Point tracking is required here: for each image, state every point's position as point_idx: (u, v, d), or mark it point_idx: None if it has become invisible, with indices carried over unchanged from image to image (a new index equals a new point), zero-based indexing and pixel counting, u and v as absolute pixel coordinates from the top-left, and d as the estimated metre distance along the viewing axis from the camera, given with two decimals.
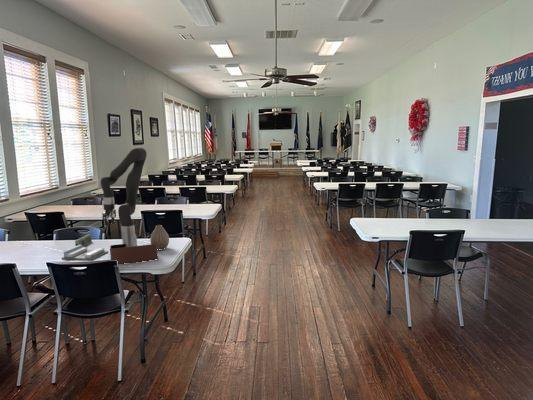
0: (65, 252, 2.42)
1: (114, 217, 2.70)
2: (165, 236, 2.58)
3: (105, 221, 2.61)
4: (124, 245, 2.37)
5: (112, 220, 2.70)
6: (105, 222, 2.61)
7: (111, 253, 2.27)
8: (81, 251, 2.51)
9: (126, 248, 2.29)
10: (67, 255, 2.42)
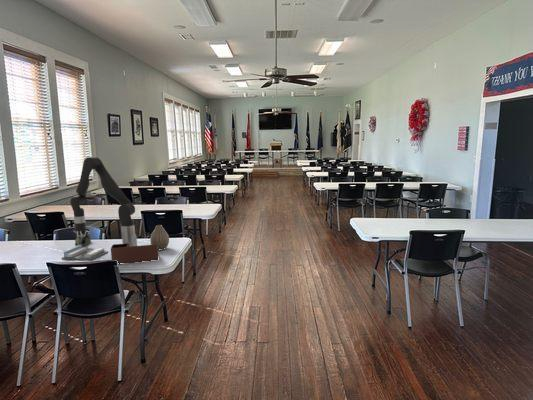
0: (65, 252, 2.42)
1: None
2: (165, 236, 2.58)
3: (84, 239, 2.72)
4: (126, 245, 2.38)
5: None
6: (85, 240, 2.72)
7: (112, 252, 2.28)
8: (81, 251, 2.51)
9: (127, 248, 2.30)
10: (67, 255, 2.42)
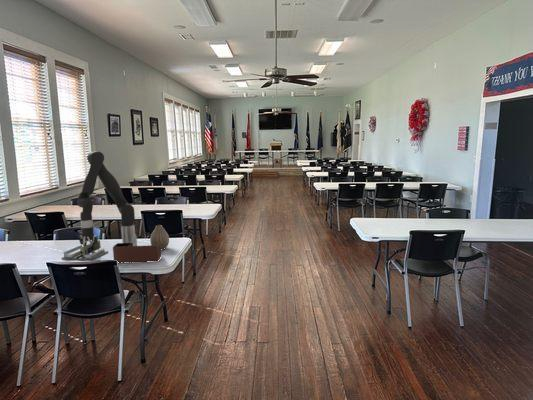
0: (65, 252, 2.42)
1: None
2: (165, 236, 2.58)
3: (93, 245, 2.47)
4: (130, 244, 2.39)
5: None
6: (93, 246, 2.47)
7: (114, 251, 2.30)
8: None
9: (128, 247, 2.31)
10: (67, 255, 2.42)
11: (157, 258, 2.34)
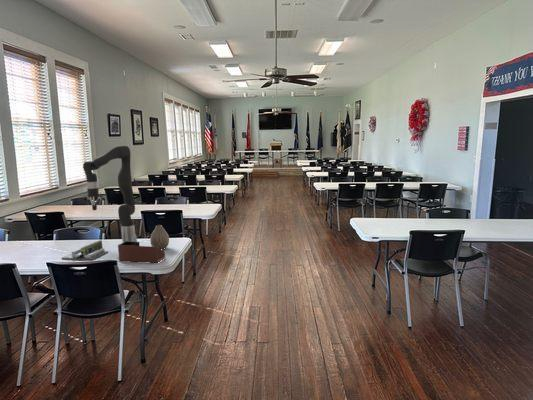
0: (73, 252, 2.41)
1: None
2: (165, 236, 2.58)
3: (96, 205, 2.73)
4: None
5: None
6: (96, 206, 2.73)
7: (119, 249, 2.35)
8: None
9: (131, 246, 2.33)
10: (75, 255, 2.41)
11: (156, 260, 2.30)
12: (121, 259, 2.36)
